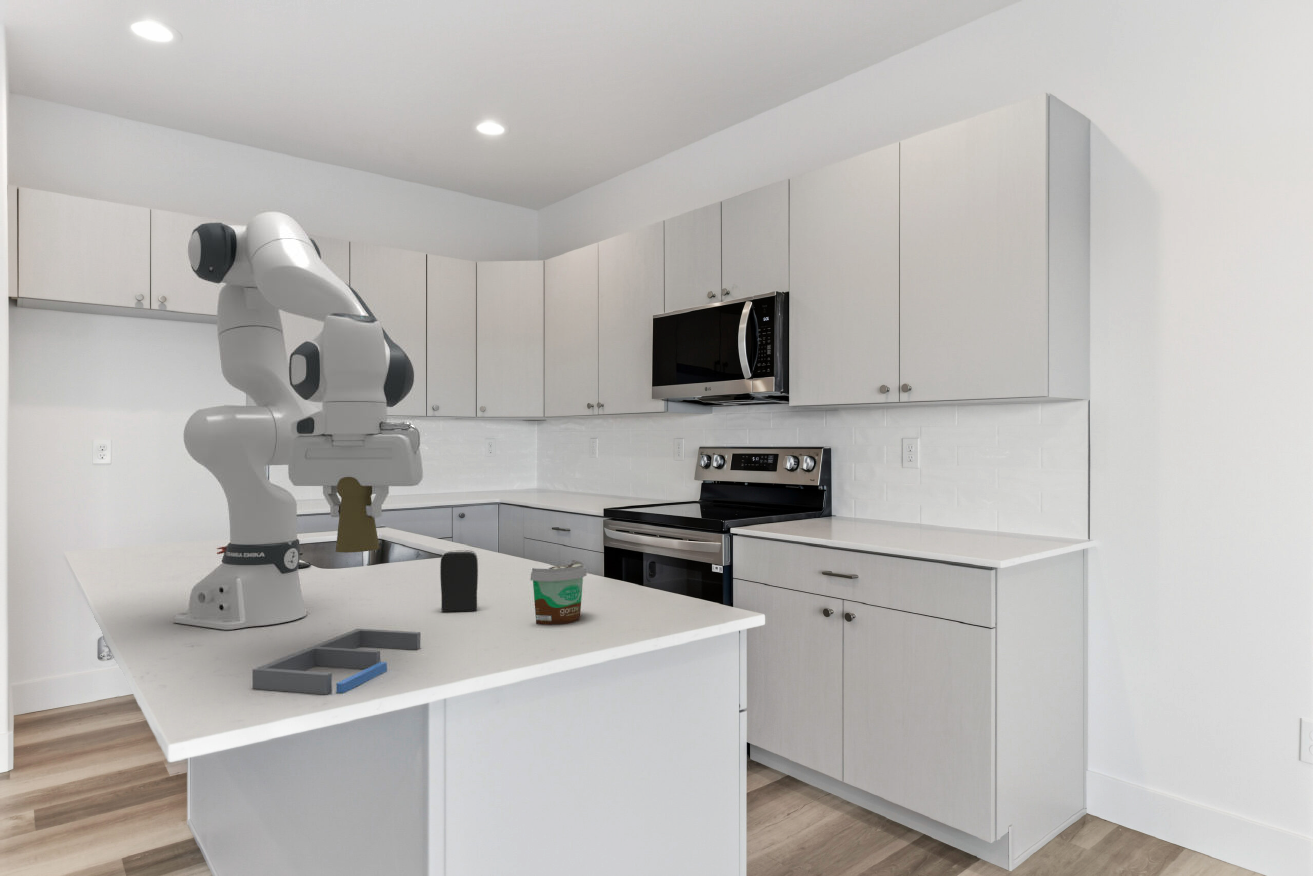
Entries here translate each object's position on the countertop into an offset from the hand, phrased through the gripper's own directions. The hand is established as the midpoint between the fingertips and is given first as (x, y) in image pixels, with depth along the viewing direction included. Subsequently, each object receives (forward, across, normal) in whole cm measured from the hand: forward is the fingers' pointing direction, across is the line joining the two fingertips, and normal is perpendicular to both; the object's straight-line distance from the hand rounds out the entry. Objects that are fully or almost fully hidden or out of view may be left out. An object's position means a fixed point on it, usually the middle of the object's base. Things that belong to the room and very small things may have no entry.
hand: (356, 517), depth 116 cm
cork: (+5, 0, 0) cm, 5 cm away
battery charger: (+22, +2, -36) cm, 42 cm away
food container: (+22, -21, -32) cm, 44 cm away
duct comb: (+21, 0, +2) cm, 21 cm away
